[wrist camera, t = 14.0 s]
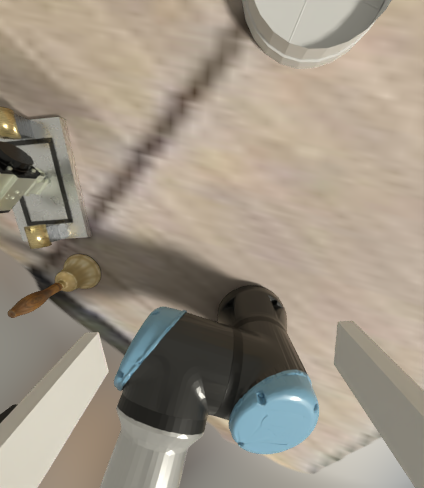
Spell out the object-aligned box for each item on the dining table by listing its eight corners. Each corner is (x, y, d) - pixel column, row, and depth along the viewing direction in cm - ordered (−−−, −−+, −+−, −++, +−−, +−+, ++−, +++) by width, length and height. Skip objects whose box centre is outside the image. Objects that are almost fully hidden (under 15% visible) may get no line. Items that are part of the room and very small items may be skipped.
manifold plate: (92, 237, 43) (70, 246, 37) (30, 241, 44) (-2, 250, 37) (64, 116, 37) (32, 101, 31) (-7, 123, 38) (-53, 110, 32)
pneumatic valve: (12, 193, 40) (-74, 195, 28) (46, 150, 37) (-31, 132, 26) (34, 214, 41) (-39, 224, 29) (70, 174, 38) (5, 167, 27)
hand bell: (93, 294, 47) (31, 345, 31) (59, 277, 46) (-22, 321, 30) (106, 265, 45) (47, 305, 29) (71, 247, 44) (-8, 277, 28)
